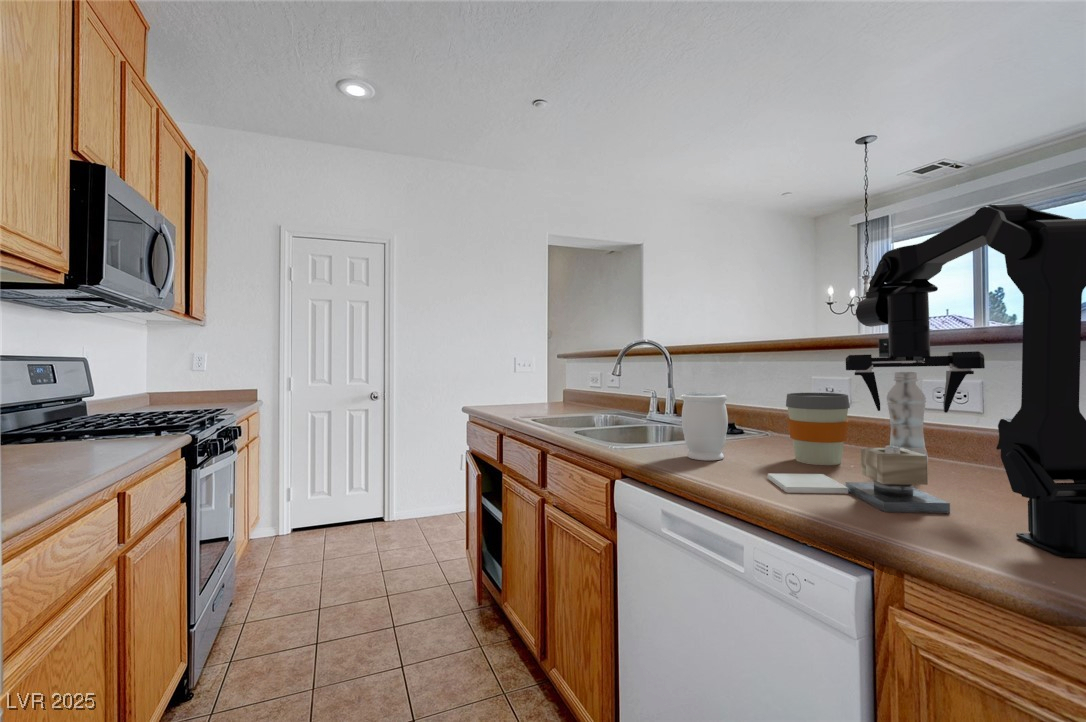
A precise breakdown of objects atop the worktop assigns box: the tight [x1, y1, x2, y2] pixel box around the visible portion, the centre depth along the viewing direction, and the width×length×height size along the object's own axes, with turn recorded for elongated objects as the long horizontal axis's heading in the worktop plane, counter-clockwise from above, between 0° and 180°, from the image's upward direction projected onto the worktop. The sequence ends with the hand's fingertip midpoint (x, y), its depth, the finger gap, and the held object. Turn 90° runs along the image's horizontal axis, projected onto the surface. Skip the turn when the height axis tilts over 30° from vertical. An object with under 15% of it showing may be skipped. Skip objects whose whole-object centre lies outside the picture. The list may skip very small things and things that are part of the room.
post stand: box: [845, 445, 951, 514], centre depth 78 cm, size 12×9×9 cm
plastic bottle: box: [886, 371, 929, 464], centre depth 99 cm, size 6×7×20 cm
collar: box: [860, 447, 929, 486], centre depth 78 cm, size 6×6×4 cm
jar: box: [680, 393, 729, 462], centre depth 115 cm, size 11×10×15 cm
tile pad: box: [767, 472, 849, 495], centre depth 88 cm, size 10×10×1 cm
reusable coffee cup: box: [785, 392, 850, 466], centre depth 109 cm, size 13×13×15 cm
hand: (911, 411), depth 84 cm, fingers open, 9 cm apart
